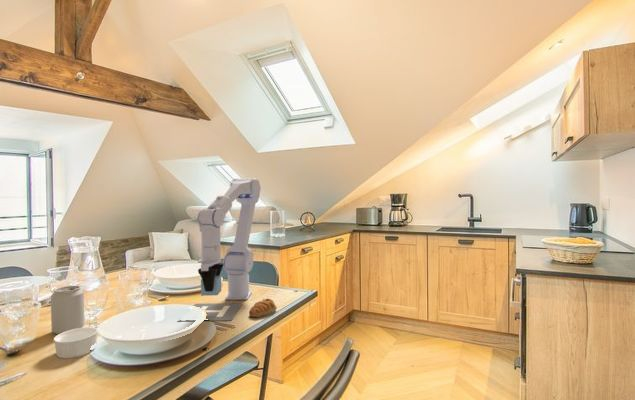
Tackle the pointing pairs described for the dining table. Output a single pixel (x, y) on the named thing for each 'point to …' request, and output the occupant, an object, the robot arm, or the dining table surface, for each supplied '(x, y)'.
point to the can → (67, 309)
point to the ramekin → (75, 342)
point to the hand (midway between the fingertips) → (211, 288)
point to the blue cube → (215, 289)
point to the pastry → (262, 308)
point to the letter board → (220, 310)
